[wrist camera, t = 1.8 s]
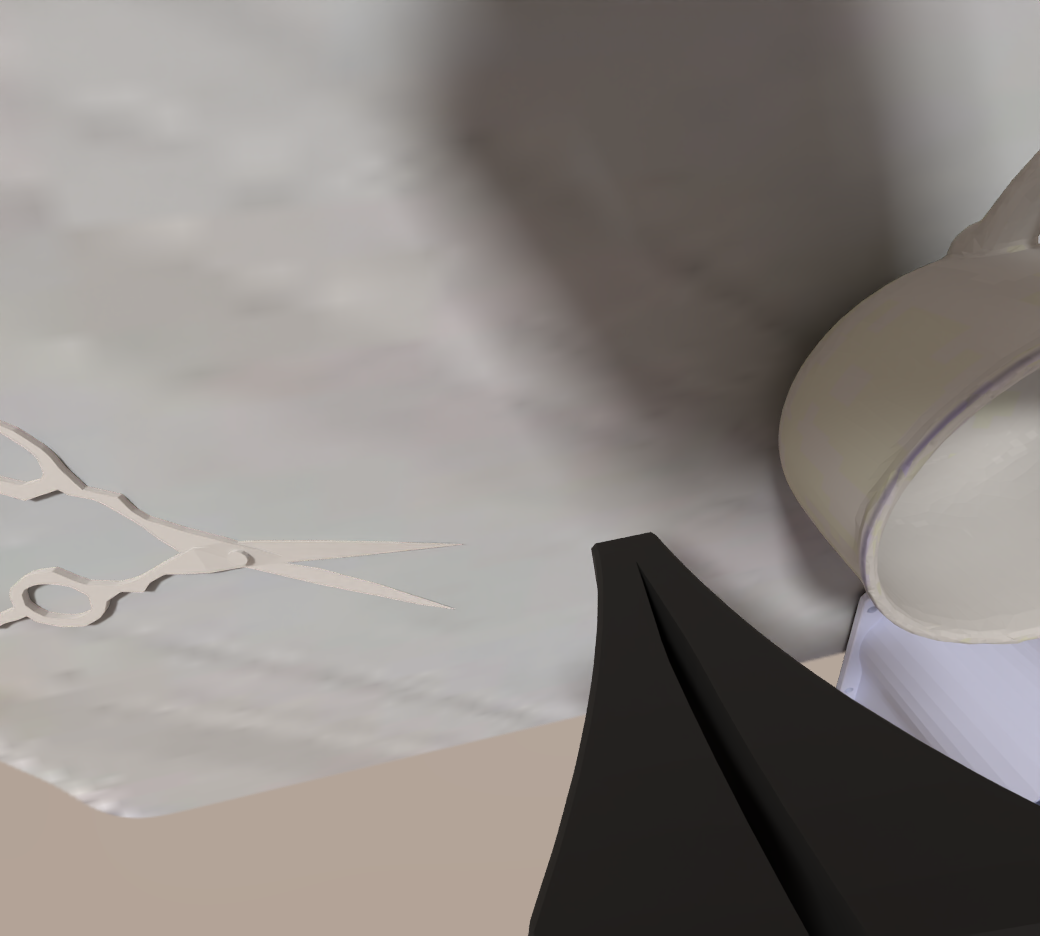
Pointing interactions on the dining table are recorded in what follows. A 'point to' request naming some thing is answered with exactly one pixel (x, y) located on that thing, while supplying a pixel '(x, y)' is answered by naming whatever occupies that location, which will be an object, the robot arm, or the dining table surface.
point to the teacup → (935, 434)
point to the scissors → (195, 547)
